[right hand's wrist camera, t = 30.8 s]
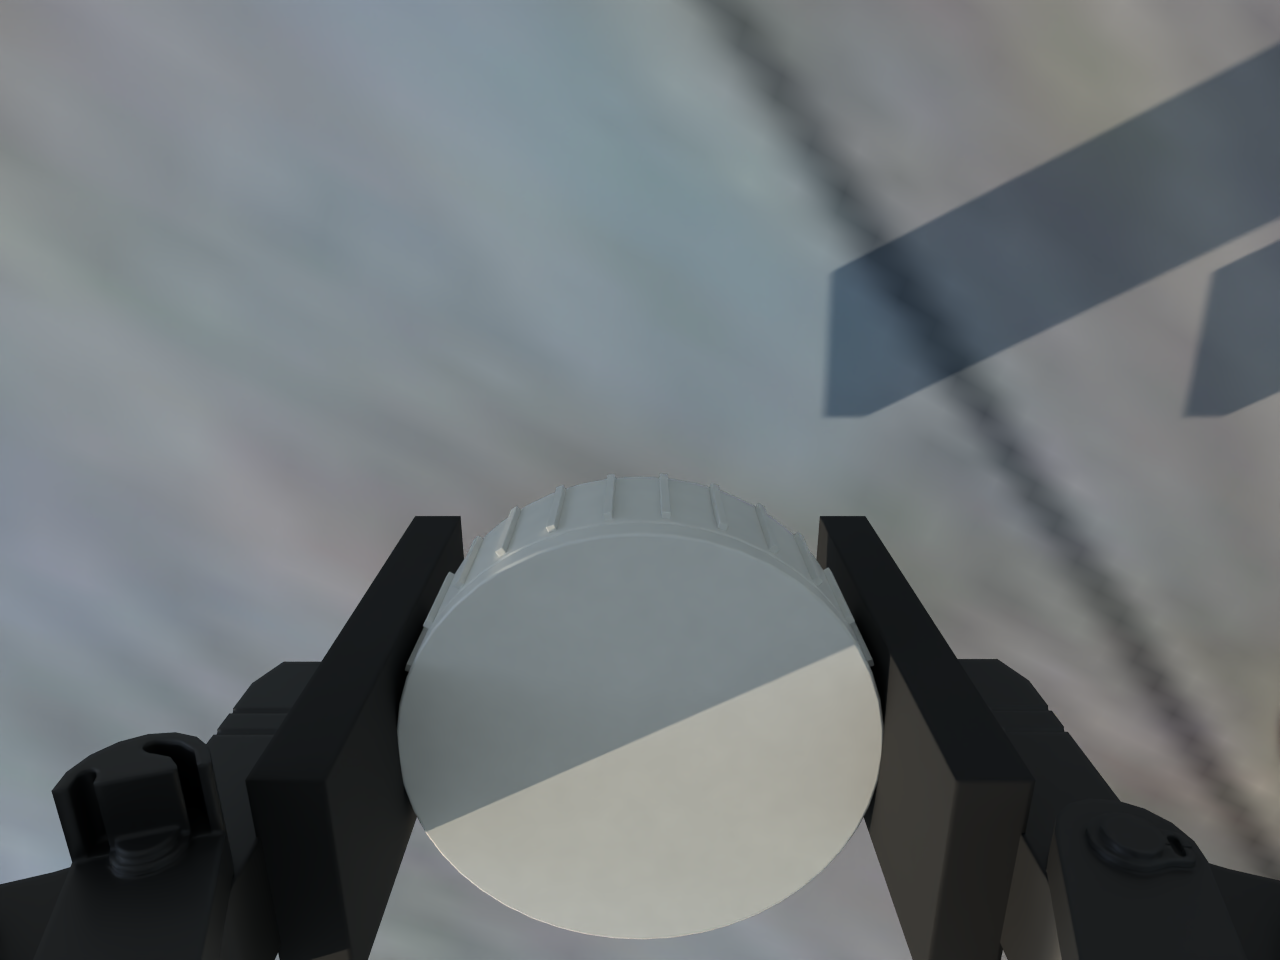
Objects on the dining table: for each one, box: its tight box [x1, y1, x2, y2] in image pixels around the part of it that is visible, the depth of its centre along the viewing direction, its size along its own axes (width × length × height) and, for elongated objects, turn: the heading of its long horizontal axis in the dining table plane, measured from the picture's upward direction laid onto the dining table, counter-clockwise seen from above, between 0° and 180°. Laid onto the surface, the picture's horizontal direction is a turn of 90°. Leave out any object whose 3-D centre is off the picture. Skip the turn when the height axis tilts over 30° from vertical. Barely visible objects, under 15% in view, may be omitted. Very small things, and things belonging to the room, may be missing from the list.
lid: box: [397, 474, 884, 939], centre depth 11 cm, size 6×6×2 cm
